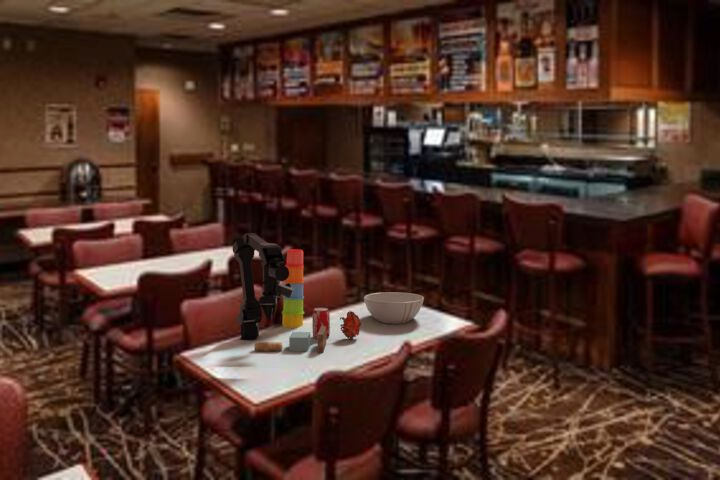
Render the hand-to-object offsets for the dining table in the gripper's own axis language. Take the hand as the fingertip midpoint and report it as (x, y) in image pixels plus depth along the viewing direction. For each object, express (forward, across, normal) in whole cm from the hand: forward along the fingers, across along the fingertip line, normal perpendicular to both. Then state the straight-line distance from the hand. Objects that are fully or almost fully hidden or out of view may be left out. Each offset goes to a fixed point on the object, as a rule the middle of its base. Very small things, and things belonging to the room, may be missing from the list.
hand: (271, 318), depth 258 cm
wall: (+12, +3, -19) cm, 23 cm away
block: (+12, +3, -7) cm, 14 cm away
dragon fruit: (+12, +18, -30) cm, 37 cm away
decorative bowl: (+12, +47, -48) cm, 68 cm away
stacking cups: (+12, +36, -4) cm, 38 cm away
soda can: (+12, +20, -18) cm, 29 cm away
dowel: (+12, -1, +1) cm, 12 cm away
